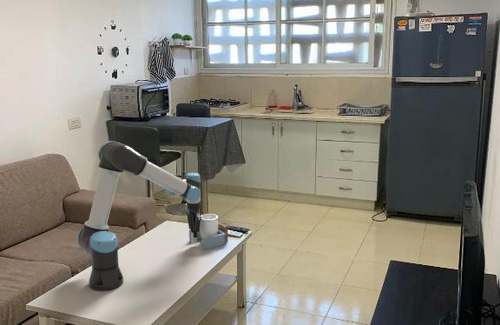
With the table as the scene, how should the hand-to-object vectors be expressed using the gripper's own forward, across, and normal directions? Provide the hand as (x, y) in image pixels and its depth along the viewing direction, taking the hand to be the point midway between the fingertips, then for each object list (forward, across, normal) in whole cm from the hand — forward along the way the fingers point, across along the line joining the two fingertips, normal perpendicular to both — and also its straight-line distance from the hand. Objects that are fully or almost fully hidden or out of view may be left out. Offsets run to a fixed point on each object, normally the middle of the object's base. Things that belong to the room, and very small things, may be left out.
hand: (194, 242), depth 267 cm
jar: (+2, 0, -10) cm, 10 cm away
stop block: (+2, 0, -18) cm, 18 cm away
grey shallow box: (+2, 0, -8) cm, 8 cm away
